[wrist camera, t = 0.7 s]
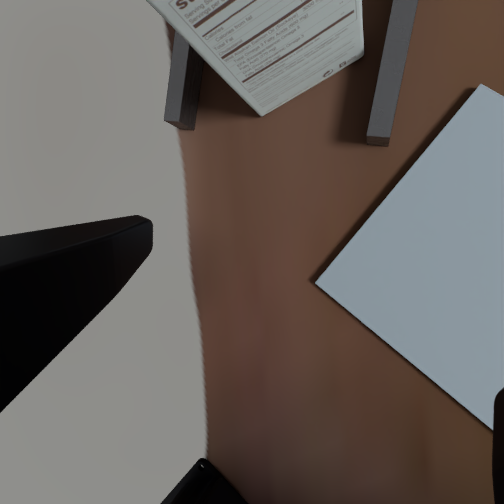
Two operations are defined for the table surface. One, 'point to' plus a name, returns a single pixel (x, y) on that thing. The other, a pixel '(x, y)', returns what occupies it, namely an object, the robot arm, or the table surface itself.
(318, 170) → the table surface
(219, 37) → the supplement box
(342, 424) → the table surface
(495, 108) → the mat
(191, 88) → the cradle
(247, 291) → the table surface
